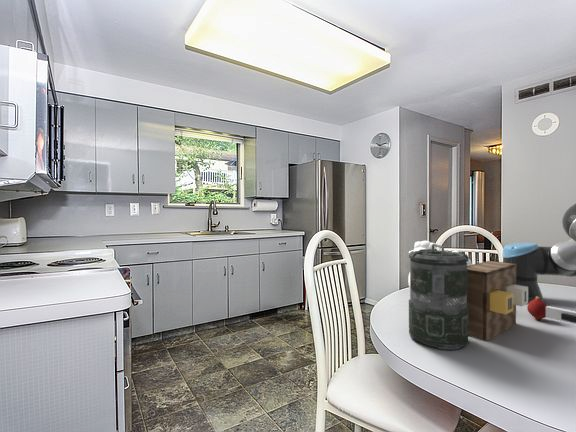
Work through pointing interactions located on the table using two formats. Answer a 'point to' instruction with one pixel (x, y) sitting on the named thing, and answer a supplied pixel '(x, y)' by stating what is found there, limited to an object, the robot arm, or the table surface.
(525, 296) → the button one
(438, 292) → the canister
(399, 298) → the table surface
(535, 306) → the onion
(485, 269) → the console
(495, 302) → the button two
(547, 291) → the table surface
